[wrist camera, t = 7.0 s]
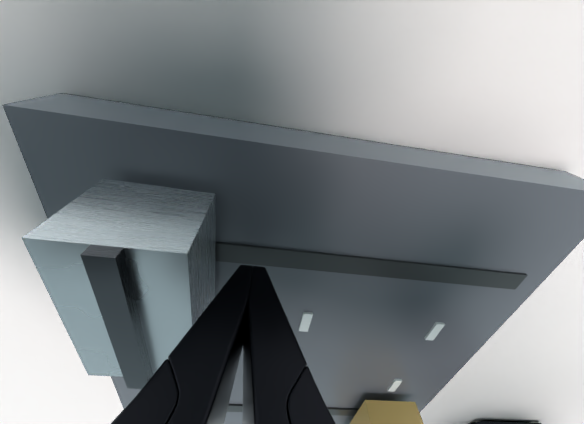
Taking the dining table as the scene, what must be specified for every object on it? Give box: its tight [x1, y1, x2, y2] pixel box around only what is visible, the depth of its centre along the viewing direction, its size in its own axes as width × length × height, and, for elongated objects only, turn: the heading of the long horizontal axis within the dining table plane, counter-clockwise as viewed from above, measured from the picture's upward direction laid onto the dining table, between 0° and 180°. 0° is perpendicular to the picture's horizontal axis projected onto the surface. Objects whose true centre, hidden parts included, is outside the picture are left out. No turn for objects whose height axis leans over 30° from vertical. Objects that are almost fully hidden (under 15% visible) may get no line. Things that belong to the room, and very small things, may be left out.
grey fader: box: [22, 179, 216, 389], centre depth 7 cm, size 3×5×3 cm, turn 171°
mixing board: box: [3, 93, 584, 424], centre depth 13 cm, size 18×20×2 cm
